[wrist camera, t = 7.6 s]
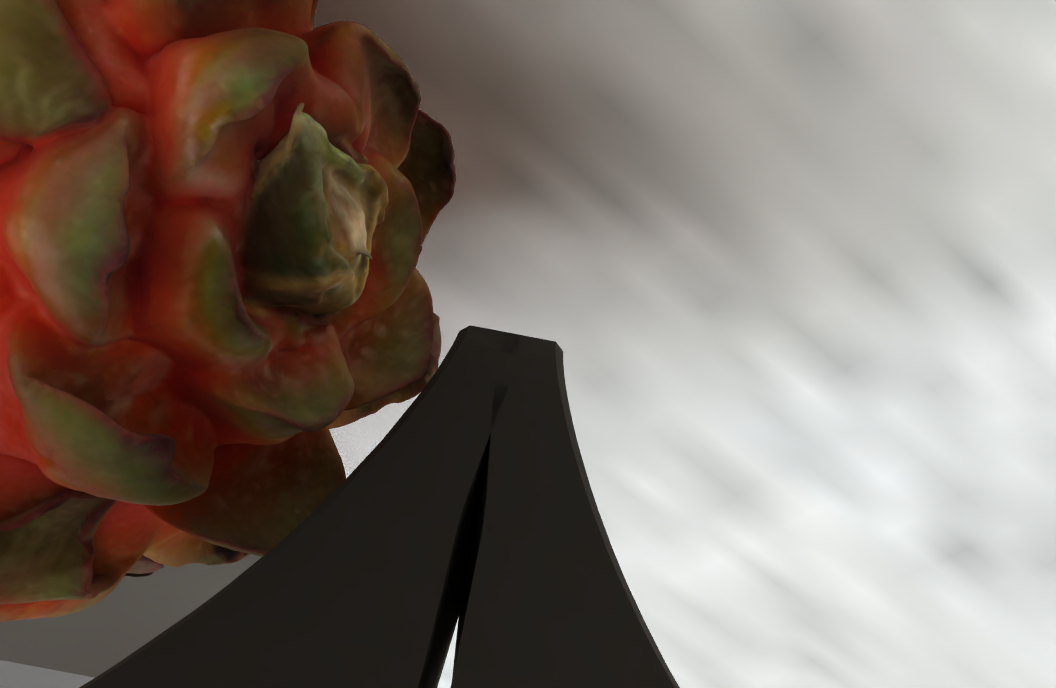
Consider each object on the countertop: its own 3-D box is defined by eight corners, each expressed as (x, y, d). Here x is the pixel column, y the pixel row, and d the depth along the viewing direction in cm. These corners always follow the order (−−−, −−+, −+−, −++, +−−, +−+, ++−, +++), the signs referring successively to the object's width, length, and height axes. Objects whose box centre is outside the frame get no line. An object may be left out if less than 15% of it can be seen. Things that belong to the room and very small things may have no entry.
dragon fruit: (531, -173, 12) (147, 258, 20) (-345, -765, 6) (-428, 171, 14) (738, 433, 9) (195, 674, 17) (-543, 393, 3) (-512, 795, 11)
